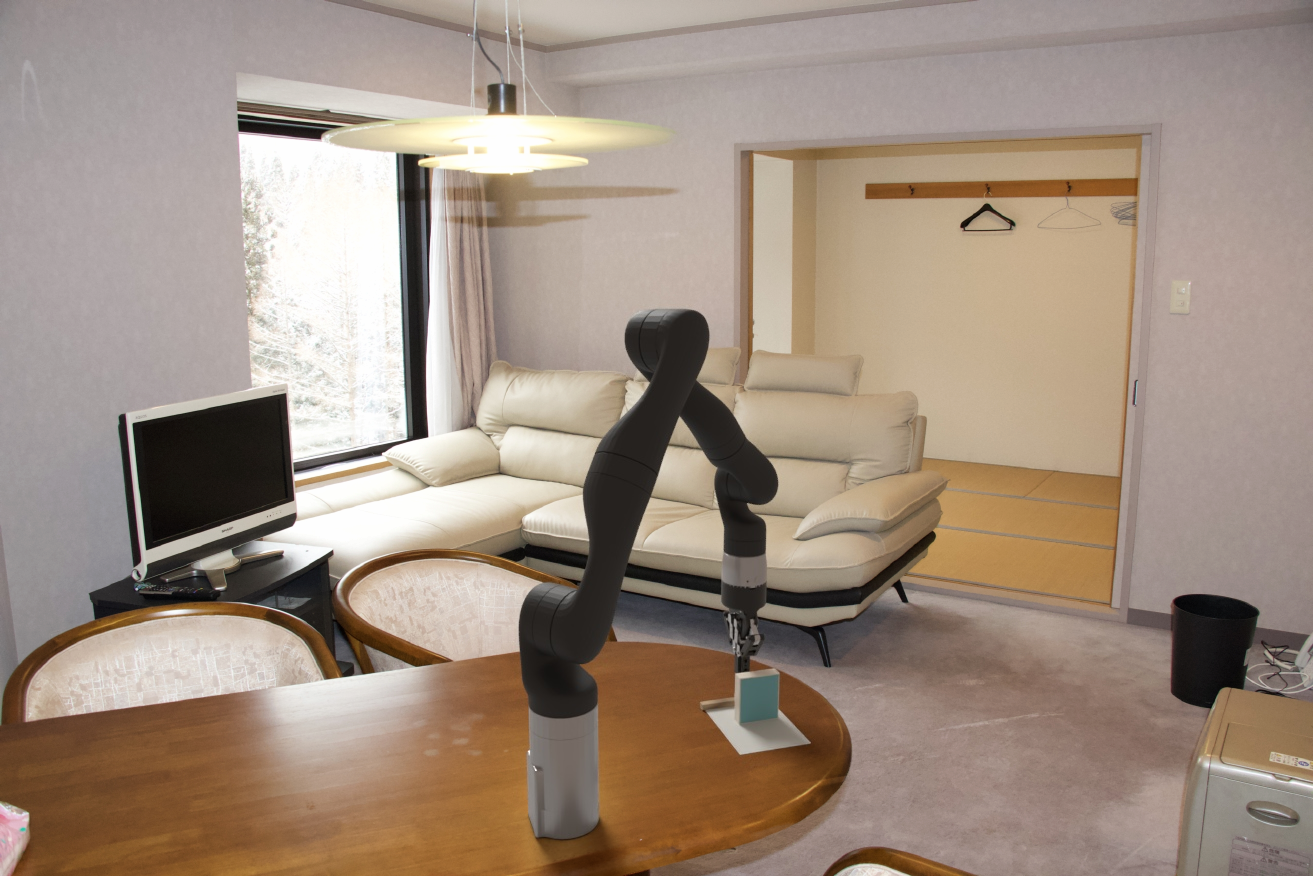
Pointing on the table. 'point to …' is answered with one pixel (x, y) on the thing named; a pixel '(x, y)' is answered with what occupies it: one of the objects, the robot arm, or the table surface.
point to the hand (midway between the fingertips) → (742, 674)
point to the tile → (756, 696)
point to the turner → (717, 703)
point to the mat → (757, 732)
